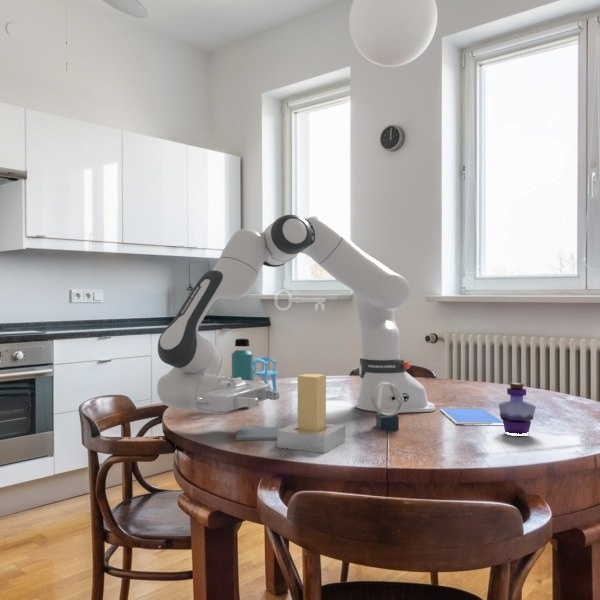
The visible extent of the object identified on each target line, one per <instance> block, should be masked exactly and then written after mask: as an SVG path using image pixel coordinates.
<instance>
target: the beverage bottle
mask: <svg viewBox="0 0 600 600" xmlns="http://www.w3.org/2000/svg"><path fill="white" fill-rule="evenodd" d="M234 341H235V343H234V346H235V347H250V339H248V338H236V339H235V340H234ZM253 360H254V354H253V352H252V351H251V350H247V349H236V350H234V352H232V353H231V377H241V378H242V380H250V381H254V375H253V373H254V372H253V371H254V365H253Z"/></svg>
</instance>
